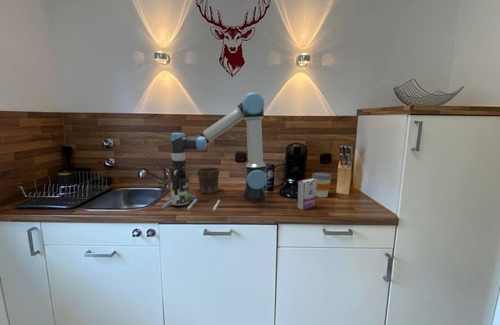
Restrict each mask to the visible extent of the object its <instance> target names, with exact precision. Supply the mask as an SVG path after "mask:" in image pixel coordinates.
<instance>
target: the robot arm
mask: <svg viewBox="0 0 500 325" xmlns="http://www.w3.org/2000/svg"><path fill="white" fill-rule="evenodd" d="M264 107H265V100H264V98H263V96H262V95H261V94H259V93H257V92H249V93H247V94H245V95H244V97H243V99H242V101H241V102H240V103H239V104H238V105H237V106H236V107H235V109H234V110H232V111H230V112H229V113H228V114H226V115H225V116H223V117H222V118H220V119H219V120H218V121H216V122H215V123H213V124H211V125H210V126H208V127H207V128H206V129H204V130H203V131H201V132H200V133H199V134H197V135H195V136H194V135H193V136H186V134H185V133H184V132H173V133H171V135H170V148H171V154H170V155H171V159H172V160H171V166H172V167H173V168H174V170H172V179H173V182H172V189H174V200H180V199H179V189H178V187H179V182H178V181H180V178H187V176H186V175H187V174H186V167H187V166H186V165H187V162H186V150H194V151H195V150H198V151H201V150H206V148H207V145H208V144H209V143H210V142H211V141H213V140H214V139H216V138H217V137H219V136H220V135H222V134H224V133H225V132H226V131H228V130H229V129H231V128H233V126H235V125H236V124H238V123H239V122H240V121H243V120H245V122H246V141H247V145H246V146H247V159H248V160H247V163H246V164H245V187H244V190H243V194H242V199H244V200H246V201H250V202H258V201H264V200H266V198H267V194H266V190H265V186H266V185H267V182H268V175H267V165H266V163H265V162H264V155H263V154H264V151H263V132H262V131H263V129H262V128H263V126H262V120H263V119H264V118H265V116H264V114H265V113H264V112H265V110H264Z"/></svg>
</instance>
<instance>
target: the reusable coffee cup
mask: <svg viewBox="0 0 500 325" xmlns="http://www.w3.org/2000/svg"><path fill="white" fill-rule="evenodd" d="M311 177H312V179H316V180H317V192H316V197H317V196H318V198H327V197H328V195H329V190H330V189H331V183H332V182H331V180H332V173H329V172H323V171H322V172H321V171H315V172H313V173H312V176H311Z"/></svg>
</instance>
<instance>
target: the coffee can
mask: <svg viewBox="0 0 500 325" xmlns="http://www.w3.org/2000/svg"><path fill="white" fill-rule="evenodd" d="M189 180H190V179H189V178H188V177H186V178H180V181H178V182H179V187H178V189H179V199H180V200H174V189H172V182H173V178H170V196H171V197H170V198H171V199H170V200H171V202H172V203H171V205H173V206H184V205H187V204H190V200H189V196H190V191H189V190H190V187H189V185H190V184H189Z"/></svg>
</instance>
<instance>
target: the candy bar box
mask: <svg viewBox="0 0 500 325" xmlns="http://www.w3.org/2000/svg"><path fill="white" fill-rule="evenodd" d="M316 192H317V180H316V179H313V178H307V179H301V180H299V181H298V180H297V209H299V210H302V211H306V210H309V209H312V208H315V207H316V206H317V196H316Z"/></svg>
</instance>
